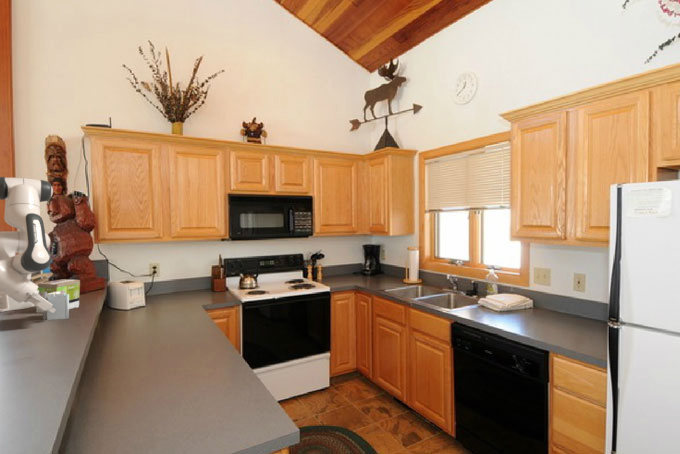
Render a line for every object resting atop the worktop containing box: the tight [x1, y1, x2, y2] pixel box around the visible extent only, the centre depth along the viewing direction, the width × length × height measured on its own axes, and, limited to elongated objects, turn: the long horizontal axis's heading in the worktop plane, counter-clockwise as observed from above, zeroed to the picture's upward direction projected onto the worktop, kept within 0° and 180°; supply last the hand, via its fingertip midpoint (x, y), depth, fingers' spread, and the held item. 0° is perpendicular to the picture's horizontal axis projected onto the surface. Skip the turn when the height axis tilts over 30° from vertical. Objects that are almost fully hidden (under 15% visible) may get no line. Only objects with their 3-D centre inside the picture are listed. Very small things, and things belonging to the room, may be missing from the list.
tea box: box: [36, 278, 81, 314], centre depth 177 cm, size 15×10×15 cm, turn 179°
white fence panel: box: [42, 291, 60, 321], centre depth 162 cm, size 1×9×13 cm, turn 6°
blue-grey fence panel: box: [46, 293, 70, 321], centre depth 160 cm, size 8×1×11 cm, turn 111°
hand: (53, 311), depth 157 cm, fingers closed
